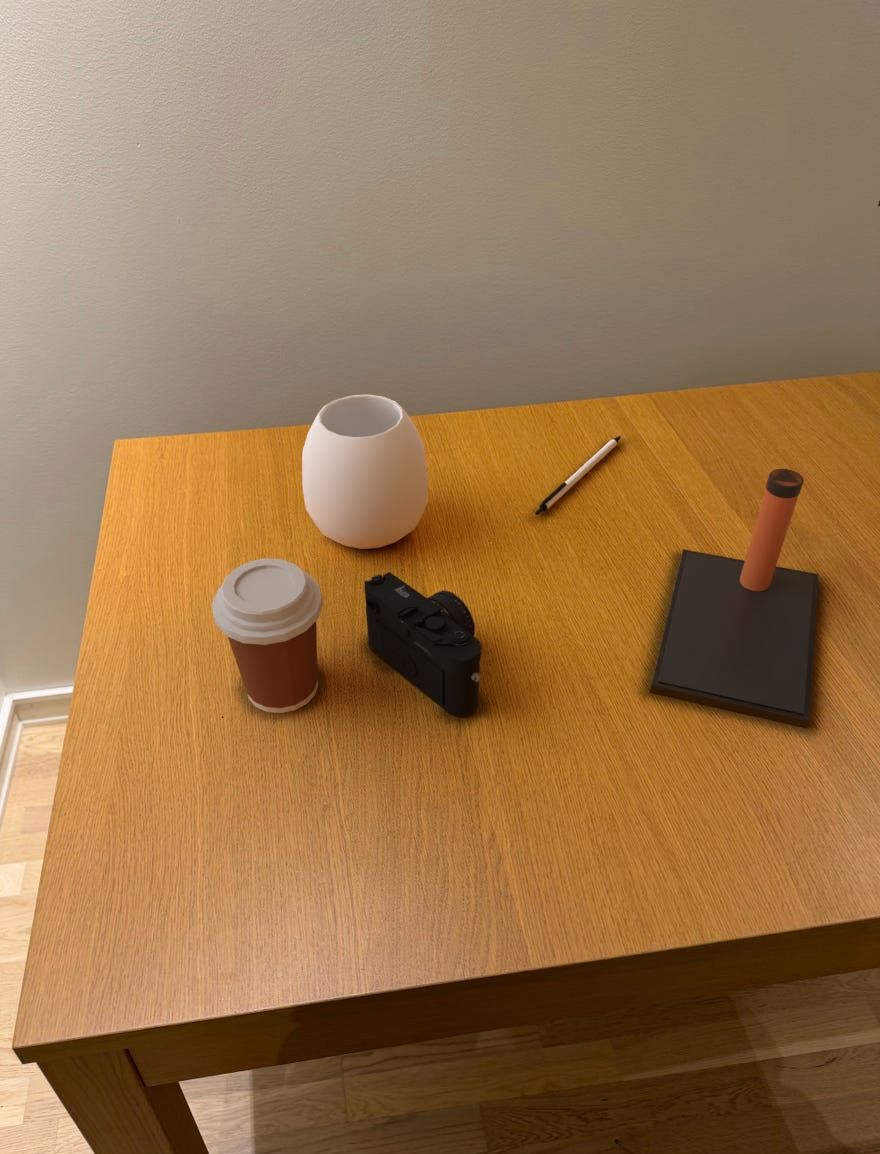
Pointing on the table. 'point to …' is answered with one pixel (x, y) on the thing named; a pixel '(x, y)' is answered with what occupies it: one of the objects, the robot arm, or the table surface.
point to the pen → (577, 475)
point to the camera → (425, 641)
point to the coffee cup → (272, 631)
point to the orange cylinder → (770, 528)
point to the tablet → (739, 640)
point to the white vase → (364, 472)
